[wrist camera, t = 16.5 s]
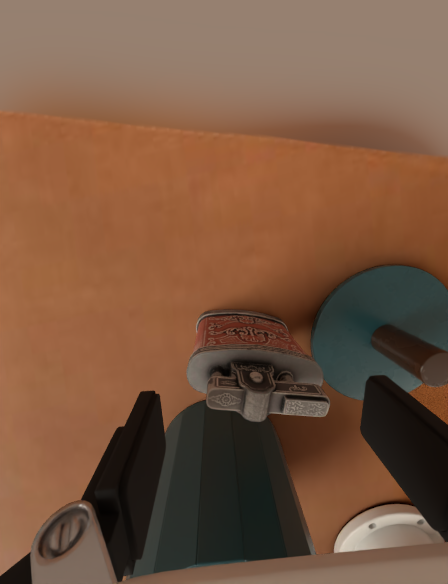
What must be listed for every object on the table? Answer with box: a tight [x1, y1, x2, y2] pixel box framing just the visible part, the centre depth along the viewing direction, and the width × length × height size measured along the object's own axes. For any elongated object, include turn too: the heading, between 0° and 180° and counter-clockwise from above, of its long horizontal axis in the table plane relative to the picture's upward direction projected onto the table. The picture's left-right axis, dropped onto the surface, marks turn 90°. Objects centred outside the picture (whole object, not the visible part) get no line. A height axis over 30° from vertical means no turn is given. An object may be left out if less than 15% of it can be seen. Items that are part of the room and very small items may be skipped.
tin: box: [126, 400, 316, 580], centre depth 18 cm, size 12×12×12 cm
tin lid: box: [311, 265, 448, 400], centre depth 18 cm, size 13×13×6 cm
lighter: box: [187, 310, 330, 422], centre depth 16 cm, size 8×3×10 cm, turn 84°
